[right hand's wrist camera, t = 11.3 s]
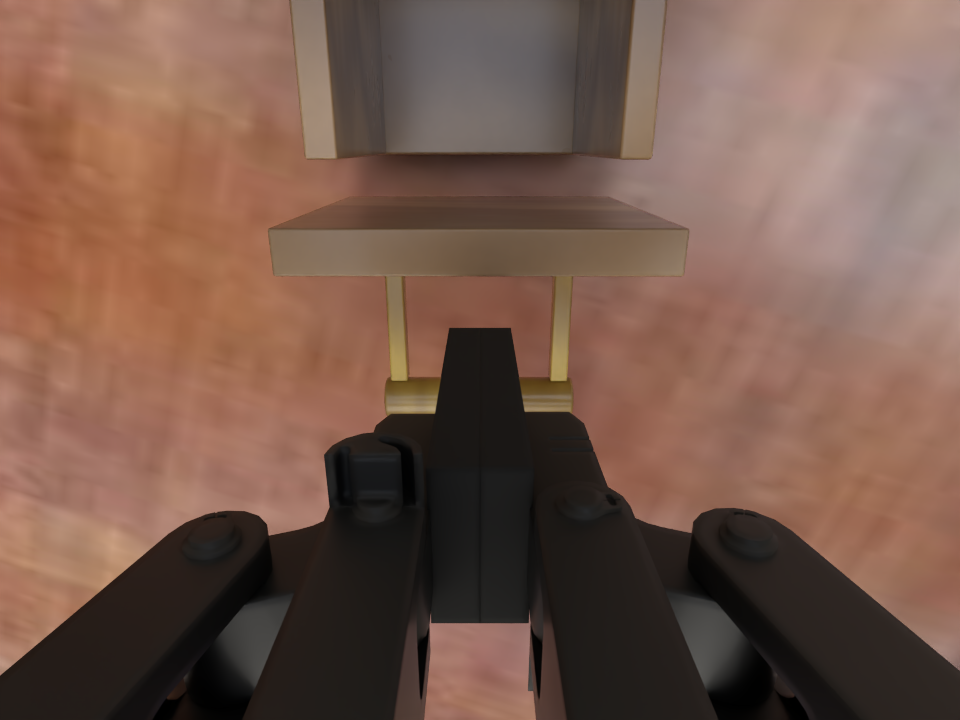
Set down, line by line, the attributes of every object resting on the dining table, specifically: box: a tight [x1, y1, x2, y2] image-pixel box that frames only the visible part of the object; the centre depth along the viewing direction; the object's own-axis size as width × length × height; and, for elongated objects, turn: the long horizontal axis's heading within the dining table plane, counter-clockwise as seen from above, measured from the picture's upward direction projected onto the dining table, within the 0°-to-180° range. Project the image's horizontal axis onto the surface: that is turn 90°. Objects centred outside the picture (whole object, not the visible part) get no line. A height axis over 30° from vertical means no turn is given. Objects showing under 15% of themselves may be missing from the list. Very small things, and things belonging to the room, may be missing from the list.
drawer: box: [268, 0, 689, 416], centre depth 17 cm, size 24×10×9 cm, turn 0°
